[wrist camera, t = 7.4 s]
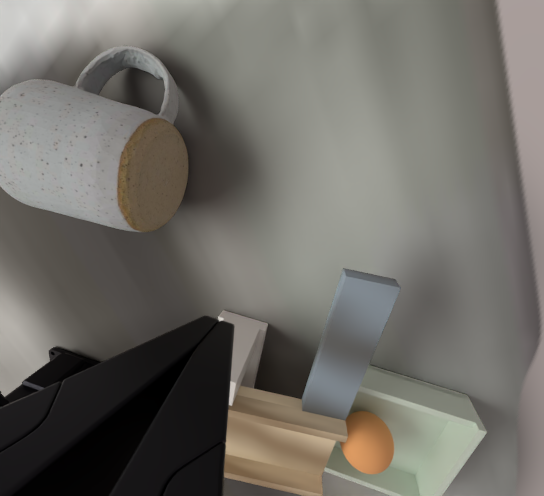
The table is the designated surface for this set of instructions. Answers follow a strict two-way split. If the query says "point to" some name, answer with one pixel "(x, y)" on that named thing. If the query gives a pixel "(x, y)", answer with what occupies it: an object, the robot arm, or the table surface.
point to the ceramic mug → (94, 147)
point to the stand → (244, 350)
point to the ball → (368, 443)
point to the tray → (414, 434)
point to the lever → (311, 396)
